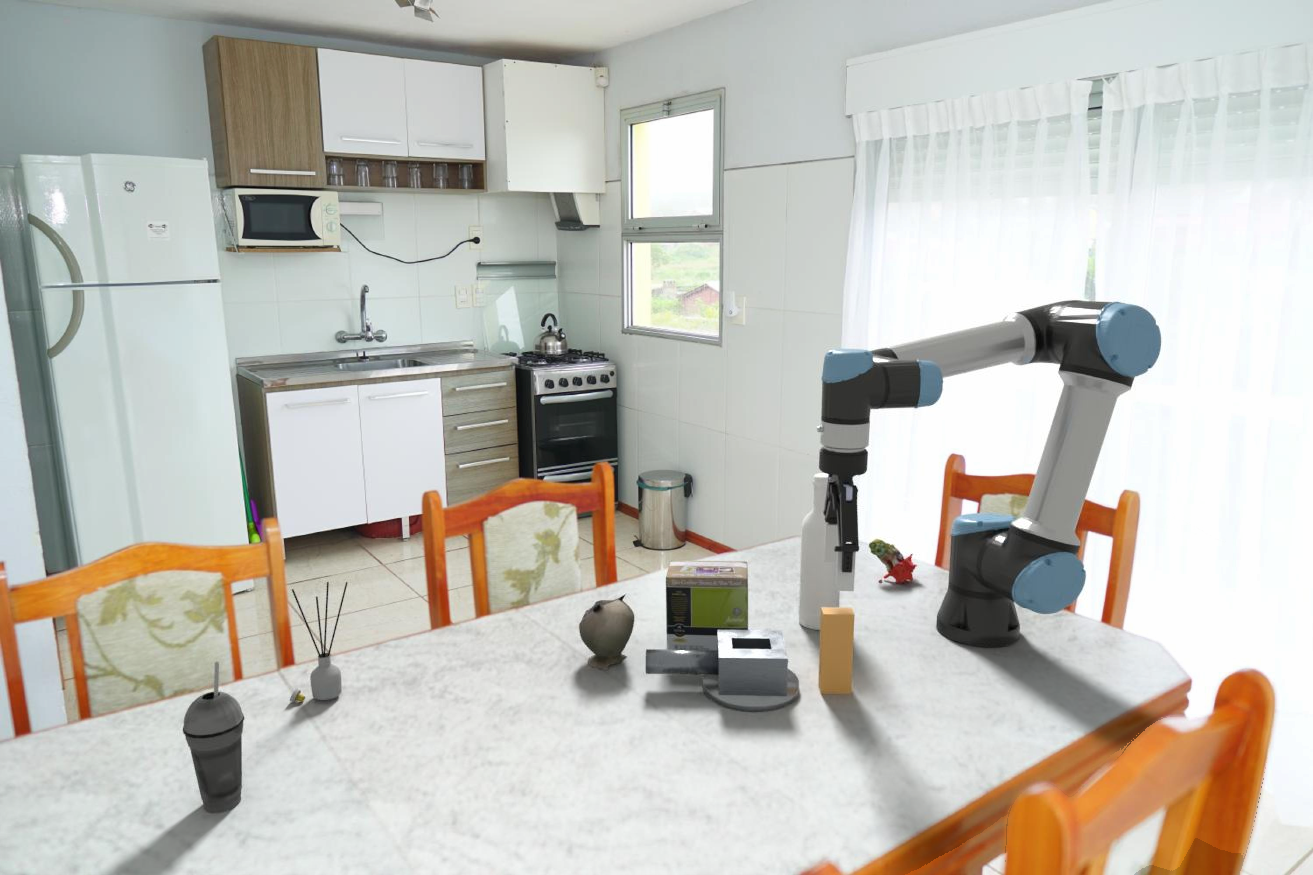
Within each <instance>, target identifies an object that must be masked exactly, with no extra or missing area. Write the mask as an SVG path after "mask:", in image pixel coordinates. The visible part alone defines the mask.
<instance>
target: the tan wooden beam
mask: <svg viewBox="0 0 1313 875" xmlns="http://www.w3.org/2000/svg"><path fill="white" fill-rule="evenodd" d="M854 632H855V612H854V611H853V608H852V607H846V606H845V607H844V606H843V607H841V606H839V607H821V621H820V630H819V654H818V655H819V656H818V680H817V681H818V684H817V685H818V690H819V692H820V695H821V694H822V695H852V682H853V663H854V662H853V659H854V658H853V656H854V639H855V638H854V636H855V635H854V634H855V633H854Z"/></svg>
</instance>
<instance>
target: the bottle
mask: <svg viewBox="0 0 1313 875" xmlns="http://www.w3.org/2000/svg"><path fill="white" fill-rule="evenodd" d="M827 484H828V474H826V473H824V472H822V473H821V472H820V473H816V474H814V475H813V480H812V485H813V486H812V487H813V489H812V490H813V493H812V510H811V511H810V512H808V513H807V514H806V515H805V516H804V519H803V520H802V524H801V527H800V562H799V597H798V598H799V600H798V601H799V602H798V603H799V604H798V609H797V610H798V614H797V615H798V622H799V624H800V625H801V626H802V627H804V628H807V629H809V630H813V631H814V630H815V631H820V621H821V607H840V596H841V593H840V592H841V591H836V589H835V588H836V566H837V562H824V540H825V524H828V523H826V522H825V516H824V514H823V511H824V506H825V499H826V491H827Z"/></svg>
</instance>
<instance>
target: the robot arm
mask: <svg viewBox="0 0 1313 875" xmlns="http://www.w3.org/2000/svg"><path fill="white" fill-rule="evenodd" d="M1161 349H1162V334H1161V330H1160V327H1159V325H1158V324H1157V321H1156V318H1155V317H1154V315H1153V314H1152V313H1151V312H1150V311H1148V309H1146V308H1144V307H1143V306H1140V305H1137V304H1131V303H1125V302H1120V301H1093V300H1091V301H1089V300H1079V299H1078V300H1077V299H1073V300H1072V299H1071V300H1069V299H1068V300H1061V301H1057V302H1053V303H1049V304H1044V305H1041V306H1036V307H1032V308H1029V309H1025V310H1020V311H1017V312H1013V313H1009V314H1007V315H1006V316H1005V317H1004V318H1003V320H1001V321H997V322H994V323H988V324H984V325H978V326H976V327H971V328H966V329H962V330H958V331H952V332H948V333H944V334H940V335H935V336H932V337H927V338H922V339H917V340H914V341H907V342H904V343H903V342H902V343H900V344H895V345H891V346H887V347H883V348H882V347H881V348H877V349H874V350H872V349H871V350H867V349H862V348H833V349H831V350H828V351H827V352H826V353H825V355H824V360H823V366H822V367H823V368H822V374H821V384H822V385H821V386H822V387H821V414H820V415H821V419H820V424H821V425H819V426H817V427H816V431H817V432H818V433H820V438H819V440H820V441H819V443H820V444H821V445H822V447H820V449H819V454H818V456H819V457H818V458H819V459H818V469H819V470H820V472H822V473H825V474H828V484H827V491H826V499H825V506H824V511H823V514H824V516H825V522H826V523H828V524H825V540H824V562H837V566H836V588H835V589H836V591H840V592H854V590H855V575H856V574H855V573H856V571H855V570H856V553H857V552H858V553H859V551H860V546H859V519H858V518H859V516H858V513H859V512H858V493H859V488H858V486H857V485H855V483H854V479H853V478H854V477H855V476H861V475H864V474H866V473H867V472H868V460H869V459H868V458H869V457H868V456H869V452H868V450H867V447H869V442H870V441H869V440H870V428H871V425H870V424H871V421H870V420H871V410H882V409H886V410H887V409H909V408H910V409H912V408H913V409H918V408H924V407H925V408H926V407H931V406H933V405H935V404H937V402H938V401H939V400H940V399H941V395H942V393H943V390H944V389H943V386H944V385H943V384H944V379H945V378H949V377H954V376H958V375H962V374H967V373H970V372H974V371H979V370H983V369H987V368H991V367H996V366H1000V365H1005V364H1009V363H1011V364H1014V365H1016V366H1025V365H1028V364H1036V363H1037V364H1038V363H1039V364H1040V363H1041V364H1042V363H1043V364H1055V365H1059V367H1058V371H1057V373H1058V375H1059V377H1060V379H1061V381H1062V383H1063V388H1062V390H1061V394H1060V396H1059V400H1058V403H1057V406H1056V408H1055V412H1054V416H1053V418H1052V422H1051V425H1050V429H1049V432H1048V435H1047V438H1046V441H1045V444H1044V447H1043V451H1042V453H1041V456H1040V460H1039V463H1038V467H1037V470H1036V473H1035V476H1034V479H1033V483H1032V486H1031V489H1030V492H1029V496H1028V498H1027V502H1026V505H1025V508H1024V511H1023V514H1022V516H1020V517H1018V518H1017V517H1015V516H1014V515H1010V514H1005V513H995V512H994V513H989V512H977V513H975V512H974V513H966V514H962V515H959V516H957V517H956V518H955V519H953V522H952V527H951V532H950V546H949V547H950V550H949V552H950V553H949V566H948V567H949V569H948V583H947V585H948V587H947V591H946V593H945V594H944V598H943V600H942V602H941V605H940V607H939V609H938V612H937V614H936V626H935V627H936V629H937V631H938V632H939V633H940V634H942V635H943V636H944V637H946V638H948V639H950V640H953V641H956V642H958V643H961V644H965V645H969V646H977V647H987V648H995V647H996V648H997V647H998V648H999V647H1005V646H1009V645H1013V644H1014V643H1016V642H1017V641H1018V640H1019V639H1020V630H1021V624H1020V620H1019V616H1018V612H1017V609H1016V605H1018V606H1019V607H1020V608H1023V609H1027V610H1030V611H1031V612H1034V613H1036V614H1039V615H1040V614H1041V615H1052V614H1057V613H1058V612H1061V611H1063V610H1064V609H1066V608H1068V607H1069V606H1071V605H1072V604H1073V603H1074V602H1075V601H1076V600H1077V599H1078V598H1079V596H1080V595H1081V593H1082V591H1083V590H1084V586H1085V584H1086V578H1087V571H1086V569H1084V568H1085V565H1084V563H1083V562H1082V560H1081V559H1080V558H1079V557H1078V554H1079V551H1080V548H1081V544H1082V543H1081V540H1080V539H1079V537H1078V535H1077V534H1076V528H1077V525H1078V522H1079V518H1080V515H1081V513H1082V510H1083V507H1084V503H1085V501H1086V497H1087V494H1088V490H1089V487H1090V484H1091V482H1092V478H1093V476H1094V472H1095V469H1096V466H1097V463H1098V460H1099V457H1100V454H1101V450H1102V447H1103V445H1104V441H1105V439H1106V435H1107V431H1108V429H1109V426H1110V423H1111V420H1112V416H1113V413H1114V410H1115V407H1116V404H1117V401H1118V398H1119V397H1120V396H1121V395H1123V394H1125V393H1127V392H1128V391H1131V389H1132V386H1133V383H1134V381H1135V378H1136V377H1139V376H1142V375H1144V374H1146V373H1147V372H1148V371H1149V369H1152V368H1153V367H1154V366H1155V364H1156V363H1157V361H1158V359H1159V356H1160V352H1161Z"/></svg>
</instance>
